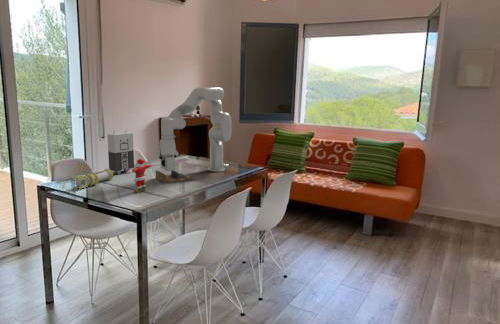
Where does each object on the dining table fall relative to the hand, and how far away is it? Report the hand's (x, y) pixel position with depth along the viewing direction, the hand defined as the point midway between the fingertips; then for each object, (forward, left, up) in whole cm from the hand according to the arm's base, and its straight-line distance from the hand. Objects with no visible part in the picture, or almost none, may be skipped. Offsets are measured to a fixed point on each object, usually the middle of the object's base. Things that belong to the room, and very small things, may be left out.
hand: (167, 165), depth 239 cm
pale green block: (0, 0, -2) cm, 2 cm away
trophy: (+44, -9, -10) cm, 46 cm away
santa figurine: (+23, +19, -10) cm, 32 cm away
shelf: (-4, 0, -10) cm, 10 cm away
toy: (+20, -34, -10) cm, 41 cm away
